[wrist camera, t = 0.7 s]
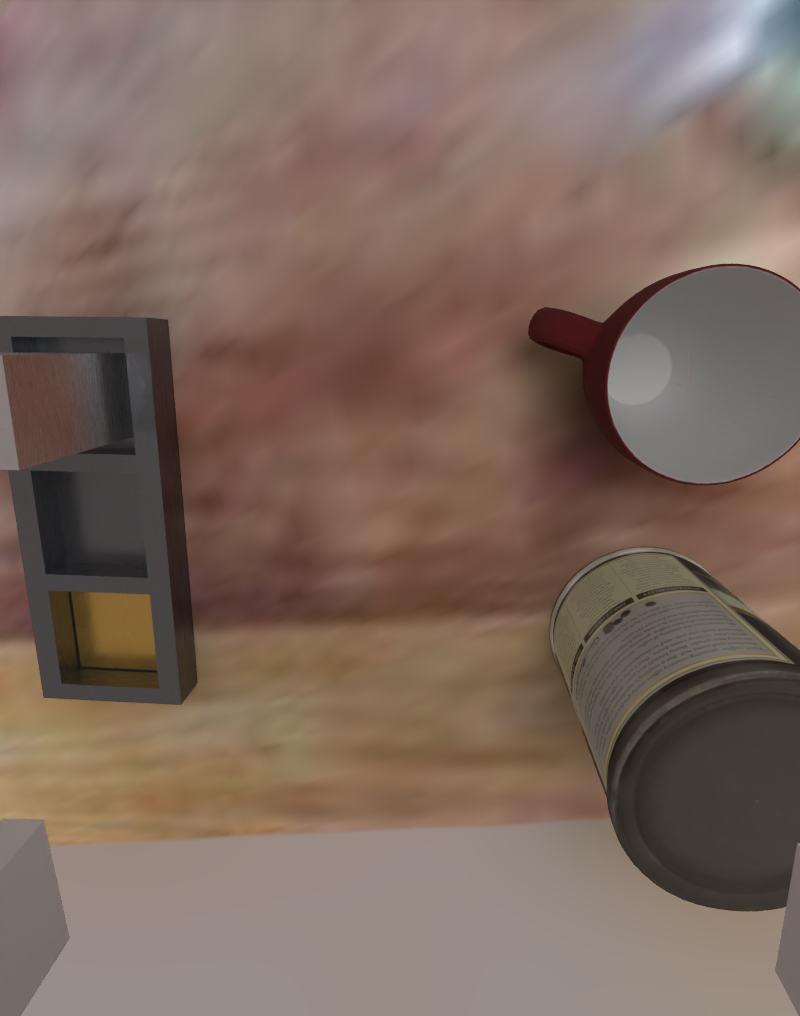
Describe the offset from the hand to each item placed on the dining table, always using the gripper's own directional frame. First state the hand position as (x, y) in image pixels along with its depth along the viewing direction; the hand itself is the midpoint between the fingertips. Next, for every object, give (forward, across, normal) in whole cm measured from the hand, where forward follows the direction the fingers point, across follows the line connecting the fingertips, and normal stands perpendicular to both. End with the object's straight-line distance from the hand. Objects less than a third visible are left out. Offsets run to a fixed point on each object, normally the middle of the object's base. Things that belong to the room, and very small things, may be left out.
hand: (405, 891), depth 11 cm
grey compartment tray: (+25, -19, 0) cm, 31 cm away
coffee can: (+25, +12, -7) cm, 29 cm away
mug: (+25, +10, +8) cm, 28 cm away
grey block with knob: (+24, -19, +7) cm, 31 cm away
